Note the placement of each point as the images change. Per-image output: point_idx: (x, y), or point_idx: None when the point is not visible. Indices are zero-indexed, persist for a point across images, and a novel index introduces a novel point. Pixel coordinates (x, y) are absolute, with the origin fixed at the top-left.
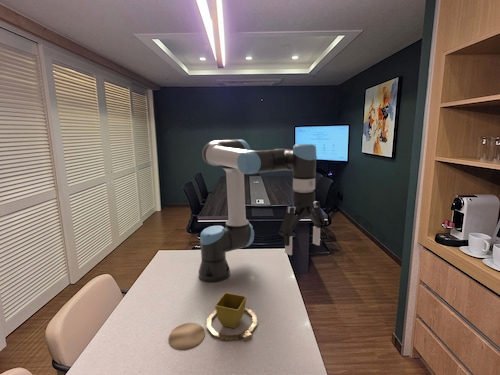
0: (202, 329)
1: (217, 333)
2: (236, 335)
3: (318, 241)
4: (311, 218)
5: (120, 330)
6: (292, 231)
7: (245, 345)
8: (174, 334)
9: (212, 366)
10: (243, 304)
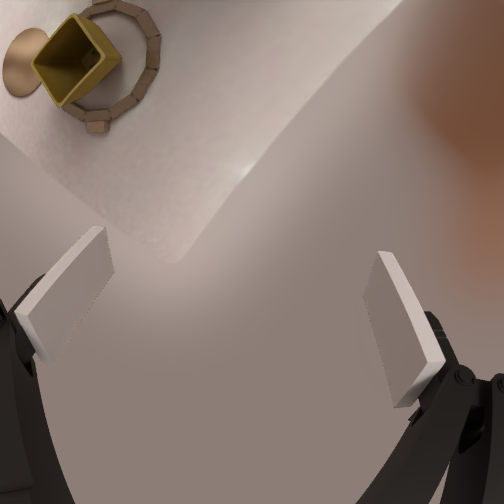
0: None
1: None
2: (82, 112)
3: (370, 318)
4: (369, 501)
5: None
6: (38, 398)
7: (90, 140)
8: (11, 53)
9: (34, 153)
10: (92, 76)
